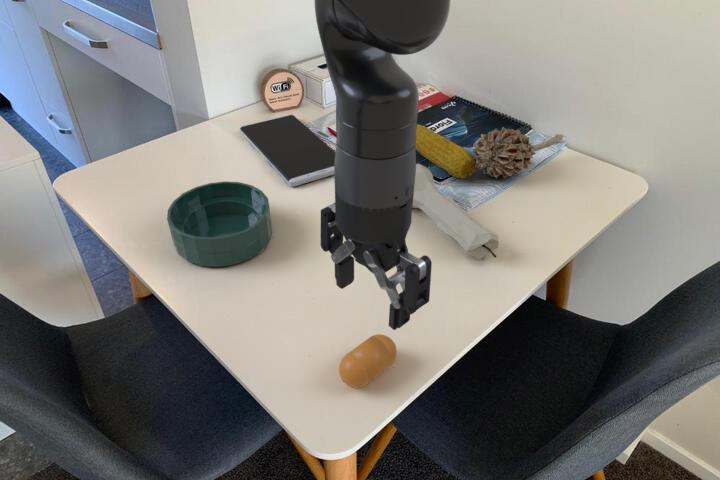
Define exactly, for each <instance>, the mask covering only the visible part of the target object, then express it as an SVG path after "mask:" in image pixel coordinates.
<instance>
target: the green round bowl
mask: <svg viewBox="0 0 720 480" xmlns="http://www.w3.org/2000/svg"><path fill="white" fill-rule="evenodd" d="M166 221H167V225H168V228H169V232H170V235H171V240H172V242H173V246H174V248H175V251H176V252H177V254H178V255H179V256H180V257H181V258H182V259H184V260H185V261H187V262H188V263H191V264H195V265H198V266H201V267H212V268H213V267H215V268H220V267H226V266H234V265H237V264H239V263H243V262H246V261H249V260H250V259H252V258H253V257H255V256H256V255H258V254H260V253H261V252H262V251H264V249H265V248H266V247H267V246H268V245H269V244H270V241H271V239H272V236H273V225H272V216H271V207H270V202H269V197H268V196H267V195H266V194H265V192H264V191H262V190H261V189H260V188H258V187H256V186H254V185H252V184H249V183H245V182H240V181H217V182H216V181H215V182H209V183H206V184H202V185H197V186H195V187H193V188H191V189H189V190H187V191H185V192H183V193H181V194H179V196H178V197H176V198H175V199H174V200H173V201H172V202H171V204H170V206H169V207H168V209H167V214H166Z"/></svg>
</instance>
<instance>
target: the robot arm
mask: <svg viewBox="0 0 720 480" xmlns="http://www.w3.org/2000/svg"><path fill="white" fill-rule="evenodd" d="M450 10H451V0H314V12H315V22H316V25H317V26H316V27H317V31H318V35H319V39H320V43H321V48H322V51H323V55H324V59H325V64H326V67H327V70H328V71H327V72H328V75H329V78H330V81H331V84H332V87H333V90H334V94H335V131H336V132H335V134H336V137H335V138H336V143H335V144H336V145H335V152H336V153H335V160H334V202H333V203H331V204H329V205H327V206H326V207H324V208H321V209H320V248H321V249H322V251H323V252H324V253H327V252H329V253H330V254H331V255H330V259H331V260H332V262H333V264H334V277H335V283H336V287H338V288H339V289H340V290H343V289H345V288H346V287H348V286H349V285H351V284H352V283H353V282H354V281H355V262H356V263H358V264H359V265H361V266H363V267H365V268H366V269H367V270H368V271H369V272H370V273H371V274H373V276H374V278H375V279H376V282H377V284H378V286H379V288H380V289H381V290H385V292H386V295H387V296H388V299H389V301H390V303H389V312H388V313H389V314H388V327H389V328H391V329H392V330H393V331H396V330H397V329H401V328H402V327H403V326H404V325H406V324H407V323H408V322H410V319H411V315H413V314H414V313H416V312H417V311H418V310H419V309H421V308H422V307H423V306H425V305H427V304H428V303H429V302H430V294H431V281H432V280H431V279H432V265H433V263H432V260H431V257H429V256H428V255H425V254H424V255H422V256H421V257H417V256H415V255H413V254H411V253H410V252H409V249H408V246H407V242H406V238H407V235H408V233H409V231H410V228H411V225H412V218H413V208H412V207H413V196H414V185H415V174H416V164H417V155H416V154H417V153H416V152H417V151H416V150H415V141H416V129H417V124H418V115H419V103H420V94H419V88H418V85H417V83H416V82H415V80H414V78H413V77H412V76H411V75H410V74H409V73H407V72H406V71H405V70H404V69H403V68H402V67H401V66H400V65H399V64H398V63H397V62H396V61H395V58H394V56H393V55H397V56H407V55H408V56H409V55H413V54H418V53H419V52H422V51H423V50H425V49H427V48H429V47H430V46H431V45H433V44H434V43H435V41H436V40H437V39H438V38H439V37H440V35H441V34H442V32H443V30H444V29H445V27H446V24H447V21H448V19H449V16H450V15H449V14H450ZM344 239H345V241H344ZM395 267H396V272H395V273H394V274H392V275H391V276H389V277H388V276H387V274H386V273H387V272H389V271H391V270H392V269H394V268H395ZM398 285H400V287H401V289H402V291H400V293H399V292H398V289H397V286H398Z"/></svg>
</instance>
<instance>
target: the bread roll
mask: <svg viewBox="0 0 720 480" xmlns="http://www.w3.org/2000/svg"><path fill="white" fill-rule="evenodd" d="M397 353H398V351H397V346H396V343H395V342H394V340H393V339H392V338H391V337H389V336H387V335H385V334H382V333H379V334H374V335H371V336H369V337H368V338H366V339H365V340H364V341H363V342H361V343H360V344H359V345H357V346H356V347H354V348H353V349H352V350H350V351H349V352H348V353H345V355H344V356H343V357H342V358H341V360H340V362H339V365H338V374H339V377H340V379H341V381H342V382H343V383H344V384H345V385H347V386H349V387H351V388H355V389H357V388H362V387H365V386H366V385H368V384H369V383H370V382H372V381H373V380H374V379H376V378H377V377H378V376H379V375H381V374H382V373H383V372H385V370H387V369H388V368H390V367H391V366H392V365H393V364H394V362H395V361H396V359H397Z"/></svg>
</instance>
